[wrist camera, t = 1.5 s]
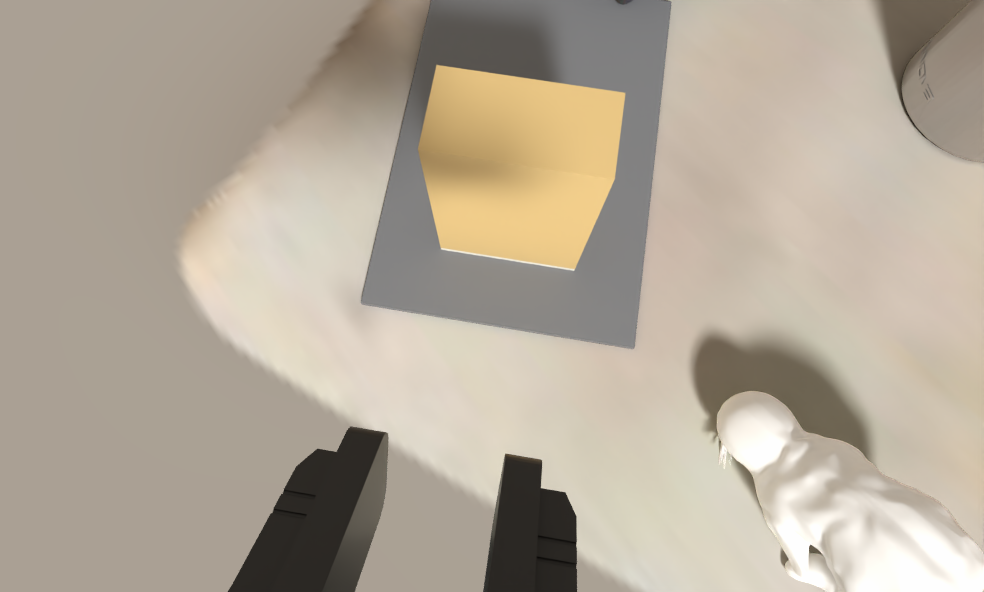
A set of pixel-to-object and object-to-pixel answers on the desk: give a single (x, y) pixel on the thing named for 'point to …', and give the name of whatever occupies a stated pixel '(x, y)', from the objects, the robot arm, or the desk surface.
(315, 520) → the robot arm
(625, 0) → the red and grey box
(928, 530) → the white figurine
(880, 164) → the desk surface
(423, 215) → the charcoal mat
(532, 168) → the ochre block
